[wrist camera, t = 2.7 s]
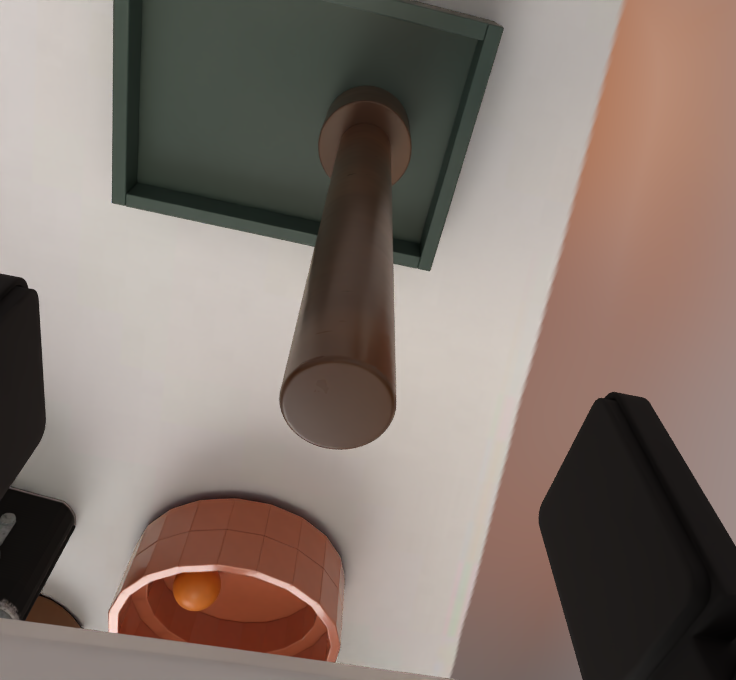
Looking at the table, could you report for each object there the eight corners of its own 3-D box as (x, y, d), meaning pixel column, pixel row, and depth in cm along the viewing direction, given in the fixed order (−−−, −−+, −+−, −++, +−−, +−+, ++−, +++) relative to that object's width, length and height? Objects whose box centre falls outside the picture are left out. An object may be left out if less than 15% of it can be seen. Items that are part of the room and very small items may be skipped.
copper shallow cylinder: (363, 512, 40) (360, 587, 35) (324, 640, 47) (317, 716, 42) (142, 473, 39) (108, 546, 34) (136, 610, 46) (107, 686, 41)
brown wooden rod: (418, 96, 26) (470, 340, 10) (397, 180, 28) (413, 499, 12) (333, 75, 26) (243, 294, 10) (317, 161, 28) (221, 465, 12)
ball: (227, 555, 41) (217, 595, 39) (223, 584, 43) (212, 624, 40) (181, 547, 41) (168, 587, 39) (178, 577, 43) (165, 617, 40)
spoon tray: (496, 21, 25) (504, 27, 23) (427, 252, 30) (430, 271, 29) (133, -71, 24) (113, -72, 22) (128, 187, 29) (111, 203, 27)
